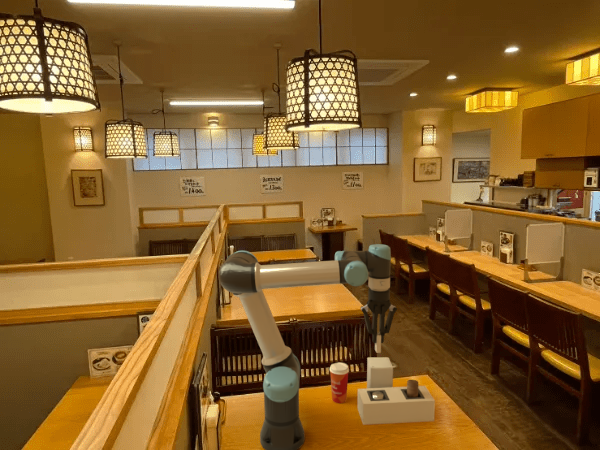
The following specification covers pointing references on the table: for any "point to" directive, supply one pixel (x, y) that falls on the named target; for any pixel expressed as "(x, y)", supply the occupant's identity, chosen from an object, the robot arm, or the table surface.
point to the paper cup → (339, 382)
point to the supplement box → (379, 372)
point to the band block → (395, 406)
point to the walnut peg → (412, 388)
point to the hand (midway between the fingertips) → (377, 351)
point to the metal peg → (377, 395)
